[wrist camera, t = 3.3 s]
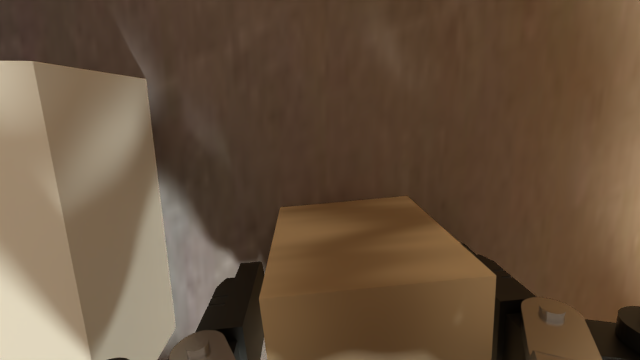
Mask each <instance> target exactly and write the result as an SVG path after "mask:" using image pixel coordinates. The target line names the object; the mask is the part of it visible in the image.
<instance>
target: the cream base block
mask: <svg viewBox="0 0 640 360" xmlns="http://www.w3.org/2000/svg"><path fill="white" fill-rule="evenodd" d="M175 328H176V324H175V316H174V308H173V299H172V291H171V283H170V274H169V266H168V258H167V249H166V241H165V233H164V224H163V216H162V208H161V199H160V191H159V183H158V174H157V166H156V158H155V149H154V141H153V133H152V124H151V116H150V107H149V99H148V91H147V82H146V79H143V78H137V77H130V76H124V75H118V74H111V73H105V72H99V71H92V70H86V69H80V68H73V67H67V66H61V65H54V64H48V63H42V62H35V61H0V360H108V359H112V358H119V357H120V358H127V359H129V360H158V358H159V356H160V354H161V353H162V351H163V349H164V347H165V346H166V344H167V342H168V340H169V339H170V337H171V335H172V333H173V332H174V330H175Z"/></svg>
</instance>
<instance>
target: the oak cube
mask: <svg viewBox="0 0 640 360" xmlns="http://www.w3.org/2000/svg"><path fill="white" fill-rule="evenodd" d="M495 291H496V275H495V274H494V273H493V272H492V271H491V270H490V269H488V268H487V267H486V266H485V265H484V264H483V263H482V262H481V261H480V260H478V259H477V258H476V257H475V256H474V255H473V254H472V253H471V252H469V251H468V250H467V249H466V248H465V247H464V246H463V245H462V244H461V243H459V242H458V241H457V240H456V239H455V238H454V237H453V236H452V235H450V234H449V233H448V232H447V231H446V230H445V229H444V228H443V227H441V226H440V225H439V224H438V223H437V222H436V221H435V220H434V219H433V218H431V217H430V216H429V215H428V214H427V213H426V212H425V211H424V210H422V209H421V208H420V207H419V206H418V205H417V204H416V203H415V202H414V201H412V200H411V199H410V198H409V197H408V196H400V197H389V198H378V199H367V200H356V201H345V202H334V203H323V204H312V205H301V206H290V207H280V210H279V215H278V219H277V223H276V228H275V232H274V236H273V241H272V245H271V249H270V253H269V258H268V262H267V266H266V271H265V275H264V279H263V284H262V288H261V292H260V296H259V303H260V310H261V317H262V324H263V331H264V338H265V346H266V353H267V360H491V358H492V341H493V324H494V307H495Z"/></svg>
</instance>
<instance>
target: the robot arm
mask: <svg viewBox="0 0 640 360" xmlns="http://www.w3.org/2000/svg"><path fill="white" fill-rule="evenodd" d="M461 244H462V245H463V246H464V247H465V248H466V249H467V250H468V251H469V252H471V253H472V254H473V255H474V256H475V257H476V258H477V259H478V260H480V261H481V262H482V263H483V264H484V265H485V266H486V267H487V268H488V269H490V270H491V271H492V272H493V273H494V274H495V275H496V291H495V307H494V324H493V341H492V358H491V360H640V307H638V306H628V307H623V308H621V309H620V310H619V311H618V316H617V322H616V323H611V322H602V321H593V320H585V319H584V317H583V316H582V315H581V313H580V312H578V311H577V310H576V309H574V308H573V307H571V306H569V305H567V304H565V303H563V302H560V301H557V300H554V299H550V298H544V297H536V296H535V295H533V294H532V293H531V292H530V291H529V290H527V289H526V288H525V287H524V286H523V285H521V284H520V283H519V282H518V281H517V280H515V279H514V278H513V277H512V278H511V275H509V274H508V273H507V272H506V271H503V269H502V268H501V267H500V266H499V265H497V264H496V263H495V262H494V261H492V260H490V259H488V258H486V257H483V256H481V255H476V254H475V253H474V252H473V251H471V250H470V249H469V248H468V247H467V246H466V245H465V244H463V243H461ZM263 279H264V271H263V265H262V262H250V263H241V264H240V266H239V269H238V272H237V274H236V277H235V278H226V279H225V280H224V281H223V282H222V283H221V284H220V285H219V286H218V287H217V288H216V290H215V292H214V294H213V296H212V299H211V300H210V303H209V306H208V307H207V309H206V311H205V313H204V315H203V317H202V319H201V322H200V324H199V326H198V328H197V330H196V332H195V333H193V334H191V335H189V336H187V337H185V338H184V339H182V340H181V341H180V342H179V343H178V344H176V346H175V347H174V348H173V349H172V351H171V353H170V356H169V359H168V360H260V357H261V351H262V346H263V340H264V331H263V324H262V317H261V310H260V303H259V296H260V292H261V288H262V284H263ZM108 360H129V359H127V358H120V357H119V358H112V359H108Z"/></svg>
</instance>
